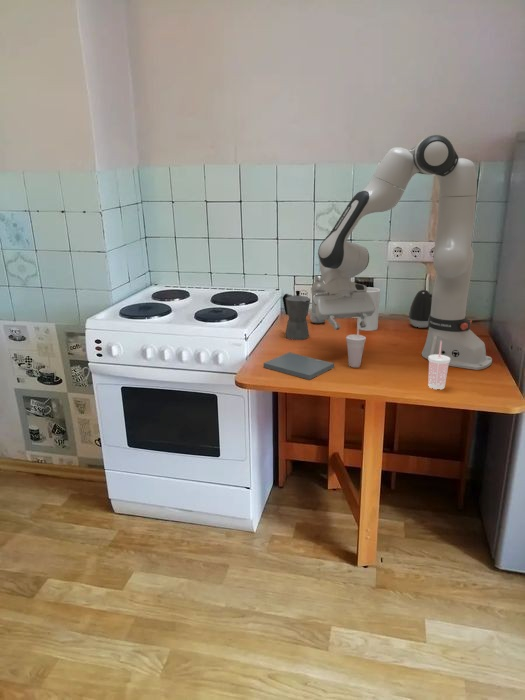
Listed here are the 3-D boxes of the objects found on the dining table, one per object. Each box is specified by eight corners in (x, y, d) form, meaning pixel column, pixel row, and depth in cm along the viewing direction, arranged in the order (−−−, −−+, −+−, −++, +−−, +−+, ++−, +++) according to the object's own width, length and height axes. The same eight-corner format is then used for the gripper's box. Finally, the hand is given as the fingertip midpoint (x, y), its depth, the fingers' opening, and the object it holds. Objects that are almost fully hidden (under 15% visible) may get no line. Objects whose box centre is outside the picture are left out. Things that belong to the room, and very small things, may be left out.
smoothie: (365, 368, 173) (368, 326, 168) (345, 368, 173) (347, 326, 168) (362, 362, 179) (365, 321, 174) (343, 362, 179) (345, 321, 175)
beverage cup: (448, 384, 160) (453, 339, 155) (446, 391, 154) (451, 345, 150) (426, 381, 162) (431, 337, 158) (424, 388, 157) (428, 342, 152)
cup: (379, 330, 215) (381, 291, 210) (358, 330, 215) (360, 291, 210) (375, 325, 223) (377, 287, 218) (355, 325, 223) (357, 287, 218)
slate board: (334, 367, 174) (334, 363, 173) (309, 379, 163) (309, 375, 163) (289, 356, 185) (289, 352, 184) (263, 367, 174) (263, 362, 174)
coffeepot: (317, 338, 205) (319, 292, 199) (298, 342, 200) (299, 295, 194) (292, 329, 217) (292, 285, 211) (273, 333, 211) (273, 288, 206)
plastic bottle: (327, 321, 228) (329, 274, 222) (322, 325, 222) (324, 277, 216) (313, 320, 231) (314, 273, 225) (307, 324, 225) (309, 276, 219)
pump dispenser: (433, 330, 215) (437, 293, 210) (407, 328, 218) (410, 291, 213) (434, 324, 224) (438, 288, 219) (408, 322, 227) (411, 286, 222)
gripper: (313, 288, 177) (323, 325, 171) (370, 285, 182) (382, 320, 176) (308, 299, 182) (318, 334, 176) (364, 295, 187) (375, 330, 181)
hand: (350, 327), depth 176 cm, fingers open, 8 cm apart
